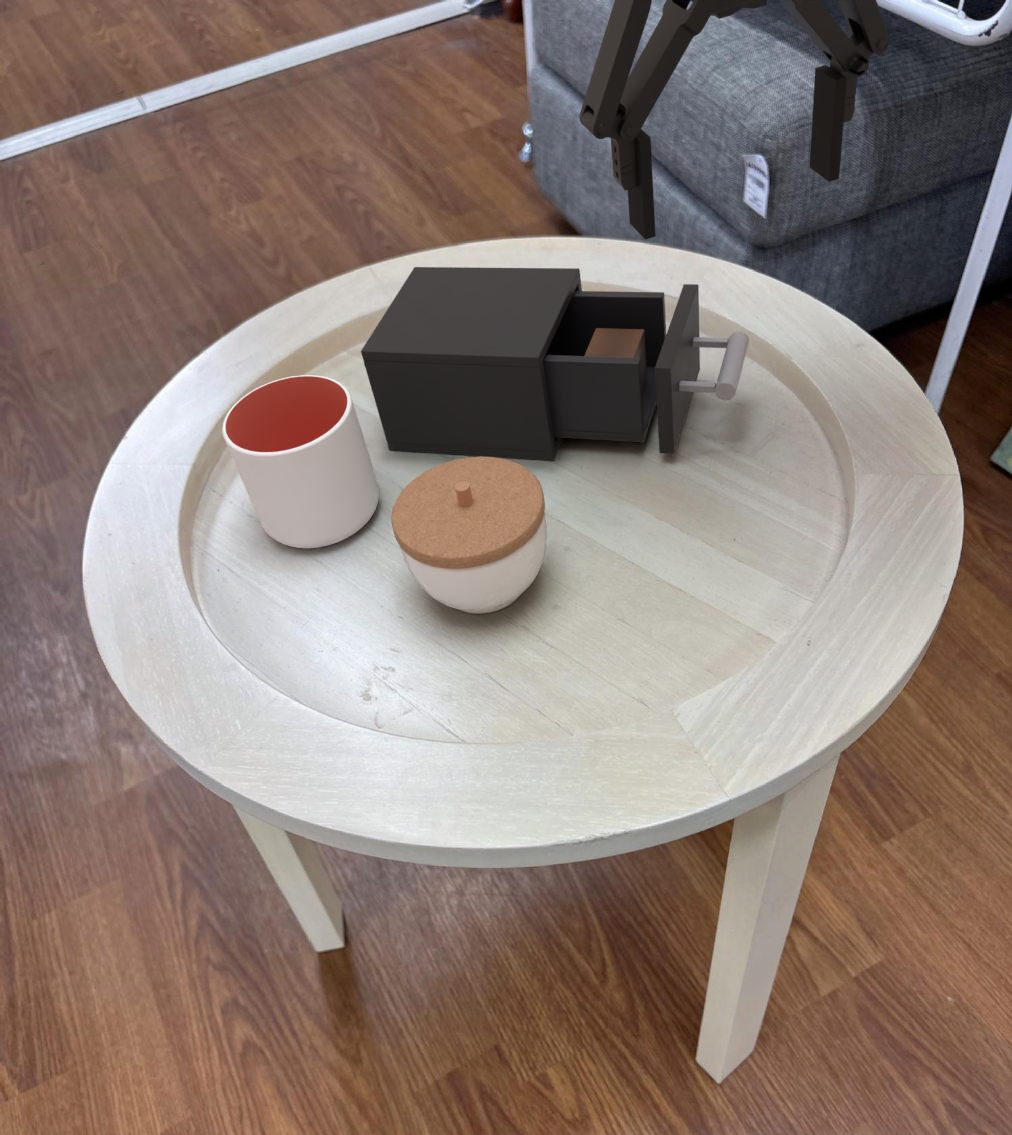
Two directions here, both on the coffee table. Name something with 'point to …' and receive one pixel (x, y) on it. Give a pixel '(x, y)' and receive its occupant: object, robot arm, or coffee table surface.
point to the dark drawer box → (469, 360)
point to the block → (620, 346)
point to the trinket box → (472, 532)
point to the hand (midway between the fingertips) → (734, 201)
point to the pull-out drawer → (633, 367)
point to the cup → (303, 460)
